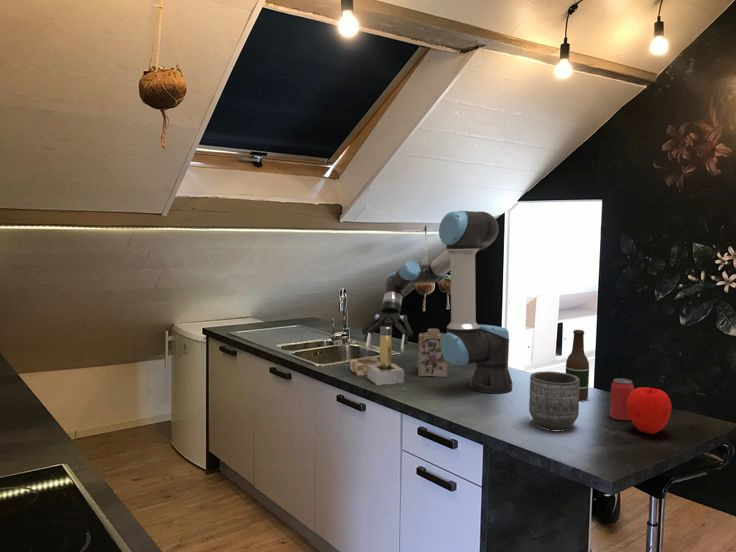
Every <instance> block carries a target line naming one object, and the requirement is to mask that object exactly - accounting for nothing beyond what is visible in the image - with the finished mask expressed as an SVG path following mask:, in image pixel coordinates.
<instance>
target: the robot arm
mask: <svg viewBox="0 0 736 552" xmlns="http://www.w3.org/2000/svg"><path fill="white" fill-rule="evenodd" d="M498 234H499V224H498V221H497V220H496V218H495V217H494V216H493V215H492V214H491V213H490V212H487V211H471V210H470V211H469V210H454V211H453V210H452V211H450V212H448V213H446V214H445V215H444V217H443V218H442V219H441V221H440V223H439V227H438V237H439V239H440V241H441V242H442V244H444V245H445V250H444V251H443V252H442V253H440V255H438V256H437V257H436V258H435V259H432V261H431V262H430V263H428V264H419V263H418V262H416V261H414V260H406V261H405V262H404V263H403V264H401V266H400V267H399V268H398V269H397V270H396V271H392V272H390V273H389V274H388V275H387V278H386V280H385V281H386V282H385V287H384V288H385V289H384V296H383V300H382V304H381V305H382V306H381V310H380V311H381V312H380V313H379V314H377V313H376V312H373V313H372V316H371V317H370V319H369V320H368V321H367V322H366V323H365V324H364V326H363V327H362V328H361V333H362V335H363V336H365V337H364V342H365V349H366V351H368V352H369V350H370V345H371V340H372V334H373V333H374V332H376V331H378V329H380V326H392V327H393V326H395V327H396V328H397V329H398V331H399V332H400V333H401V334H402V338H401V344H400V351H401V353H403V354H404V351H405V346H406V345H408V341H409V338H413V336H414V332H413V330H412V327H411V325H410V324H409V321H408V315H407V314H405V313H404V314H403V315H401V307H402V302H403V296H404V292H405V290H406V289H407V288H409V286H410V285H412V284H413V285H414V284H426V283H427V284H428V283H429V284H433V283H434V284H437V283H440V282H444V281H445V280H446V278H447V274H448V273H449V272H450V322H449V324H448V325H447V326H446V333H444V335H443V336H442V338H441V341H440V348H441V352H442V354H443V356H444V358H445V359H446V361H447V362H448V363H449V364H450V365H452V366H466V365H472V364H475V368H474V371H473V374H472V376H471V378H470V389H472V390H473V391H477V392H481V393H484V394H485V393H488V394H504V393H505V394H506V393H510V392H512V390H513V380H512V378H511V374H510V370H509V353H510V352H509V350H510V349H509V348H510V335H509V334H510V333H509V330H508V328H505V327H502V326H497V325H491V324H490V325H489V324H478V323H477V322H476V321H477V320H476V318H477V317H476V316H477V315H476V314H477V313H476V311H477V310H476V254H477V252H479V251H480V250H485V249H486V248H487V247H489V246H490V245H492V243H493V242H495V241H496V239H497V236H498ZM400 320H401V321H402V322H404V326H405V327H403V325H402V324H401V323H400V322H399V321H400ZM376 321H377V322H376ZM375 322H376V323H375ZM405 328H406V329H405Z"/></svg>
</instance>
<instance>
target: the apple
mask: <svg viewBox="0 0 736 552" xmlns="http://www.w3.org/2000/svg"><path fill="white" fill-rule="evenodd" d="M626 406H627V411H628V414H629V417H630V419H631V420H630V421H631V422H632V424H633V425H634V427H635V428H636V429H637V431H639V432H641V433H646V434H650V435H655V434H657V433H659V432H661V431H662V430H663V429H664V428H665V426H666V425H667V423H668V422H669V420H670V417H671V413H672V403H671V399H670V397H669V396H668V394H667V393H666V392H665V391H663V390H661V389H658V388H653V387H643V386H642V387H637V388H634V390H632V392H631V393H630V394H629V397H628V399H627V404H626Z"/></svg>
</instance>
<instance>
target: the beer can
mask: <svg viewBox="0 0 736 552" xmlns="http://www.w3.org/2000/svg"><path fill="white" fill-rule="evenodd" d="M612 380H613V381H612V383H611V386H610V402H609V404H610V405H609V416H610V418H612V419H614V420H617V421H624V422H625V421H626V422H627V421H632V420H631V419H630V417H629V414H628V411H627V406H626V404H627V399H628V397H629V394H630V393H631V392H632V390H634V389H635V387H634V383H633V381H632V380H631V379H628V378H623V377H622V378H620V377H619V378H618V377H617V378H614V379H612Z"/></svg>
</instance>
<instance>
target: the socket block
mask: <svg viewBox="0 0 736 552" xmlns="http://www.w3.org/2000/svg"><path fill="white" fill-rule="evenodd" d="M366 376H367V379H368V380H369V379H370V380H369V381H371V382H372V384H374V383H375V384H374V385H376V386H383V384H385V385H396V383H398V384H404V383H405V369H403V368H402V367H400V366H399V365H397V364H396V363H391V369H388V370H380V364H379V365H367V375H366Z"/></svg>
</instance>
